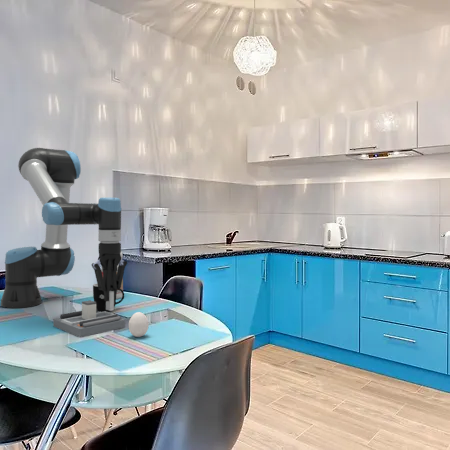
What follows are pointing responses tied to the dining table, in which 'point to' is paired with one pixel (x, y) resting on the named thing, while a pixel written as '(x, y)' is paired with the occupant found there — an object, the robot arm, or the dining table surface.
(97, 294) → the mug
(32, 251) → the robot arm
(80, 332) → the grey compartment tray
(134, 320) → the egg
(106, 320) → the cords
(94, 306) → the light grey boxy piece
